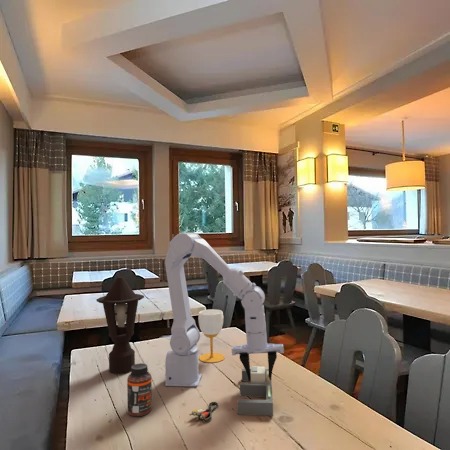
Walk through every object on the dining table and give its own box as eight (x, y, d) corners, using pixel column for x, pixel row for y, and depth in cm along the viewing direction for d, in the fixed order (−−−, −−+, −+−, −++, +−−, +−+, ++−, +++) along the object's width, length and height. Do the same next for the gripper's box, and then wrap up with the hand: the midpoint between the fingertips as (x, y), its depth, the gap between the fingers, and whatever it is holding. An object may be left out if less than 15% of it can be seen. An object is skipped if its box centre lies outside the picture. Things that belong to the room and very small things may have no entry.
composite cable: (212, 404, 93) (212, 394, 93) (227, 408, 91) (227, 399, 91) (188, 421, 85) (188, 411, 85) (204, 427, 82) (204, 416, 82)
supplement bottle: (139, 420, 86) (138, 372, 86) (122, 413, 89) (121, 367, 89) (157, 409, 91) (156, 364, 91) (140, 403, 94) (139, 360, 94)
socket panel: (237, 414, 87) (237, 400, 87) (242, 378, 107) (242, 367, 107) (273, 415, 86) (272, 401, 86) (270, 379, 107) (270, 367, 107)
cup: (229, 356, 127) (228, 310, 127) (215, 364, 119) (214, 316, 119) (208, 352, 131) (207, 308, 132) (193, 360, 124) (192, 313, 124)
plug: (251, 391, 99) (250, 372, 99) (251, 383, 104) (251, 365, 104) (265, 391, 99) (265, 372, 99) (265, 383, 104) (265, 365, 104)
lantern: (140, 358, 127) (138, 273, 127) (150, 372, 114) (148, 278, 114) (95, 365, 121) (93, 276, 121) (101, 382, 107) (98, 282, 107)
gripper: (229, 336, 98) (233, 385, 98) (282, 333, 97) (286, 384, 97) (231, 328, 105) (235, 375, 105) (281, 326, 104) (285, 373, 104)
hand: (259, 379), depth 101 cm, fingers open, 5 cm apart
